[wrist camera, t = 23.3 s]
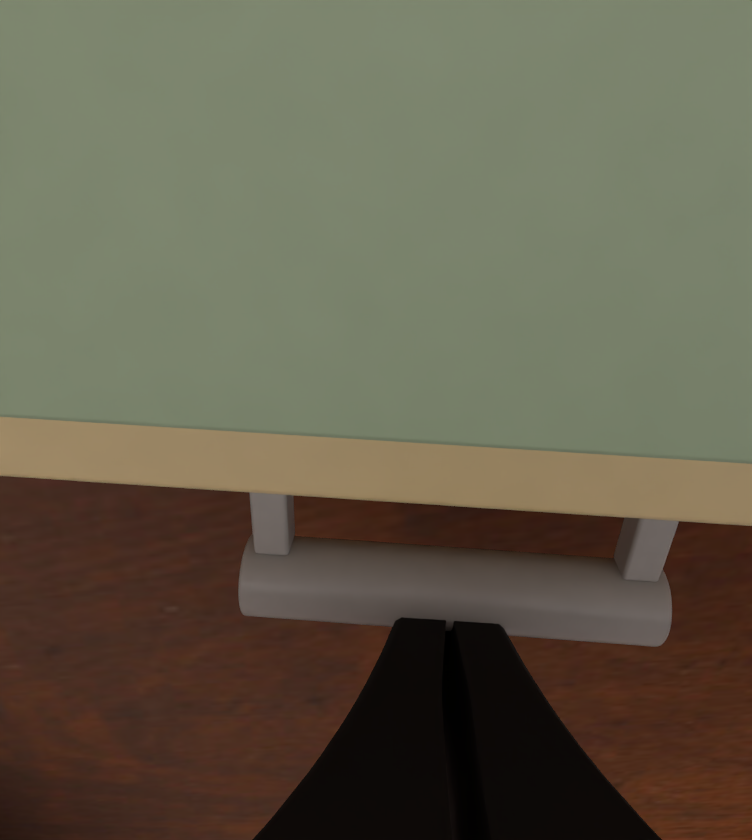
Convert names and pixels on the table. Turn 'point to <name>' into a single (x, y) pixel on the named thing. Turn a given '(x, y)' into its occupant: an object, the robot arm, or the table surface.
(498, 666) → the robot arm
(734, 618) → the table surface
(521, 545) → the table surface
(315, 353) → the cabinet
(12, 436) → the drawer
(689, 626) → the table surface
